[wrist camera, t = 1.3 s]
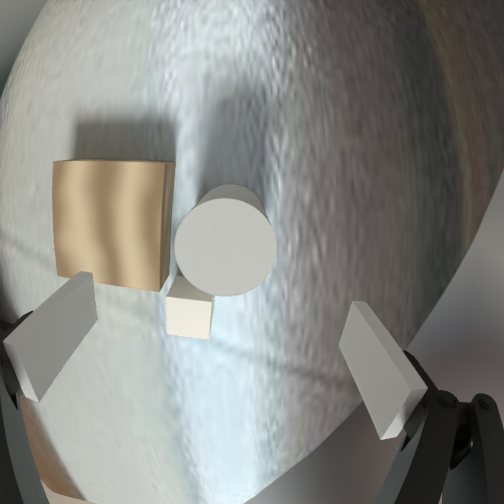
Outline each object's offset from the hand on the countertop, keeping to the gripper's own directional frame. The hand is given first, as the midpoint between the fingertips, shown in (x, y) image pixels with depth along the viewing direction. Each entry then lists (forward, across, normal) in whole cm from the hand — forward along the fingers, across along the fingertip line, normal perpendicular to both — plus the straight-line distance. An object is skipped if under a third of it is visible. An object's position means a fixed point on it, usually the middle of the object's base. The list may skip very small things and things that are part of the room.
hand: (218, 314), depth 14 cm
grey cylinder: (+22, 0, 0) cm, 22 cm away
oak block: (+22, -14, -1) cm, 26 cm away
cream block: (+22, -4, -11) cm, 25 cm away
